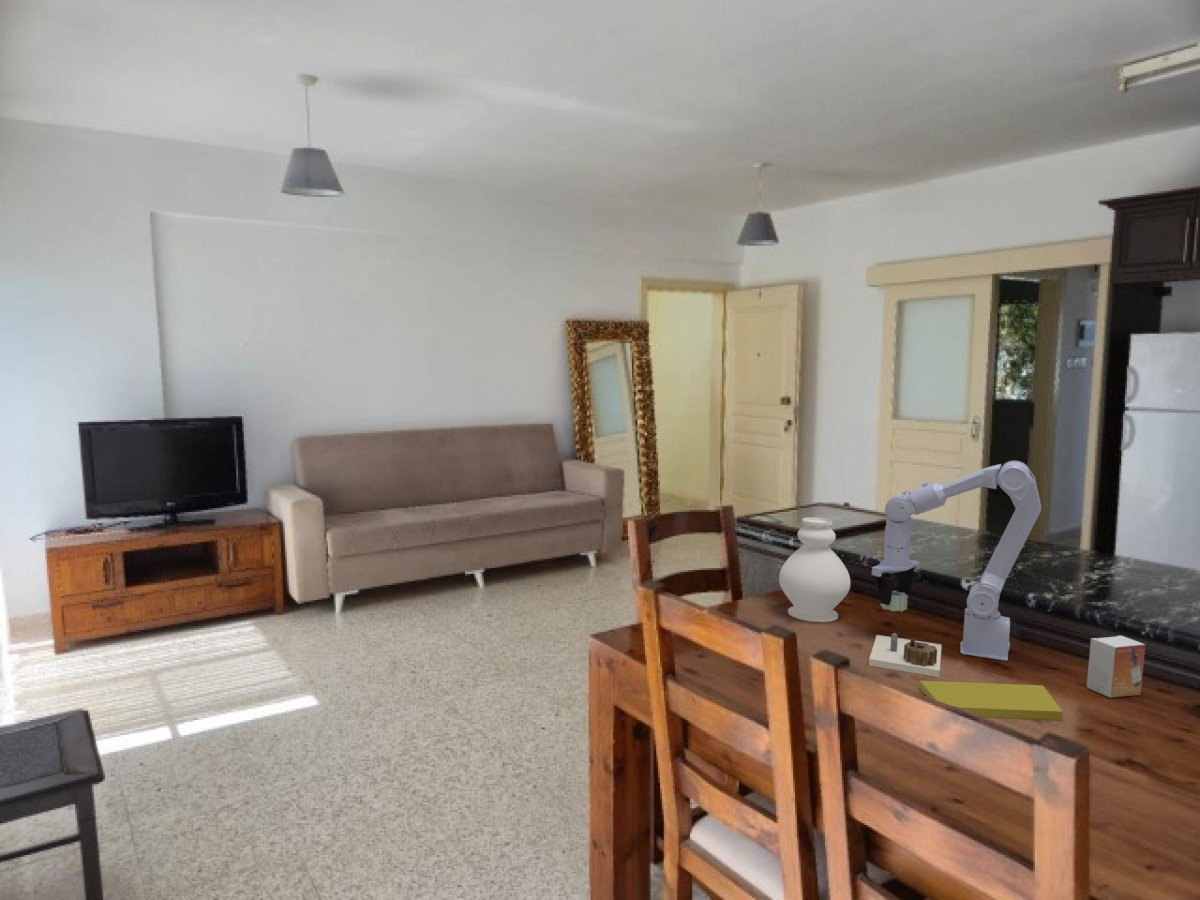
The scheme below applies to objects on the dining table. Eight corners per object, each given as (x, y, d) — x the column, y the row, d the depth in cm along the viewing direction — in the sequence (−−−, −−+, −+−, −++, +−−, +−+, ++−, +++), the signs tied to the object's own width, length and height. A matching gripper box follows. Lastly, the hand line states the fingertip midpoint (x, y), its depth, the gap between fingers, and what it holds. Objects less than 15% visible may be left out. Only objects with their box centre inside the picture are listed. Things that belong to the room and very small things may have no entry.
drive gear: (936, 657, 169) (938, 637, 168) (935, 668, 163) (937, 647, 162) (904, 652, 171) (905, 633, 171) (902, 662, 165) (904, 642, 165)
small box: (1110, 699, 152) (1114, 647, 151) (1085, 687, 158) (1089, 637, 157) (1141, 695, 155) (1146, 644, 154) (1116, 684, 160) (1121, 634, 159)
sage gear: (907, 606, 187) (908, 592, 186) (905, 612, 182) (906, 598, 181) (881, 602, 189) (882, 589, 189) (879, 609, 184) (880, 595, 184)
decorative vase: (765, 606, 208) (768, 515, 205) (822, 601, 213) (827, 512, 211) (801, 628, 191) (805, 528, 189) (863, 622, 197) (868, 525, 194)
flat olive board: (941, 717, 144) (1075, 723, 143) (942, 706, 144) (1076, 712, 142) (919, 691, 156) (1042, 696, 155) (919, 680, 156) (1043, 685, 155)
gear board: (941, 650, 177) (942, 627, 177) (939, 677, 162) (940, 651, 161) (876, 641, 183) (877, 618, 182) (868, 665, 168) (870, 641, 167)
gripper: (903, 539, 191) (900, 593, 192) (862, 545, 184) (859, 601, 185) (928, 545, 185) (924, 601, 186) (887, 552, 177) (884, 609, 179)
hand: (894, 601), depth 185 cm, fingers closed on sage gear, 6 cm apart
